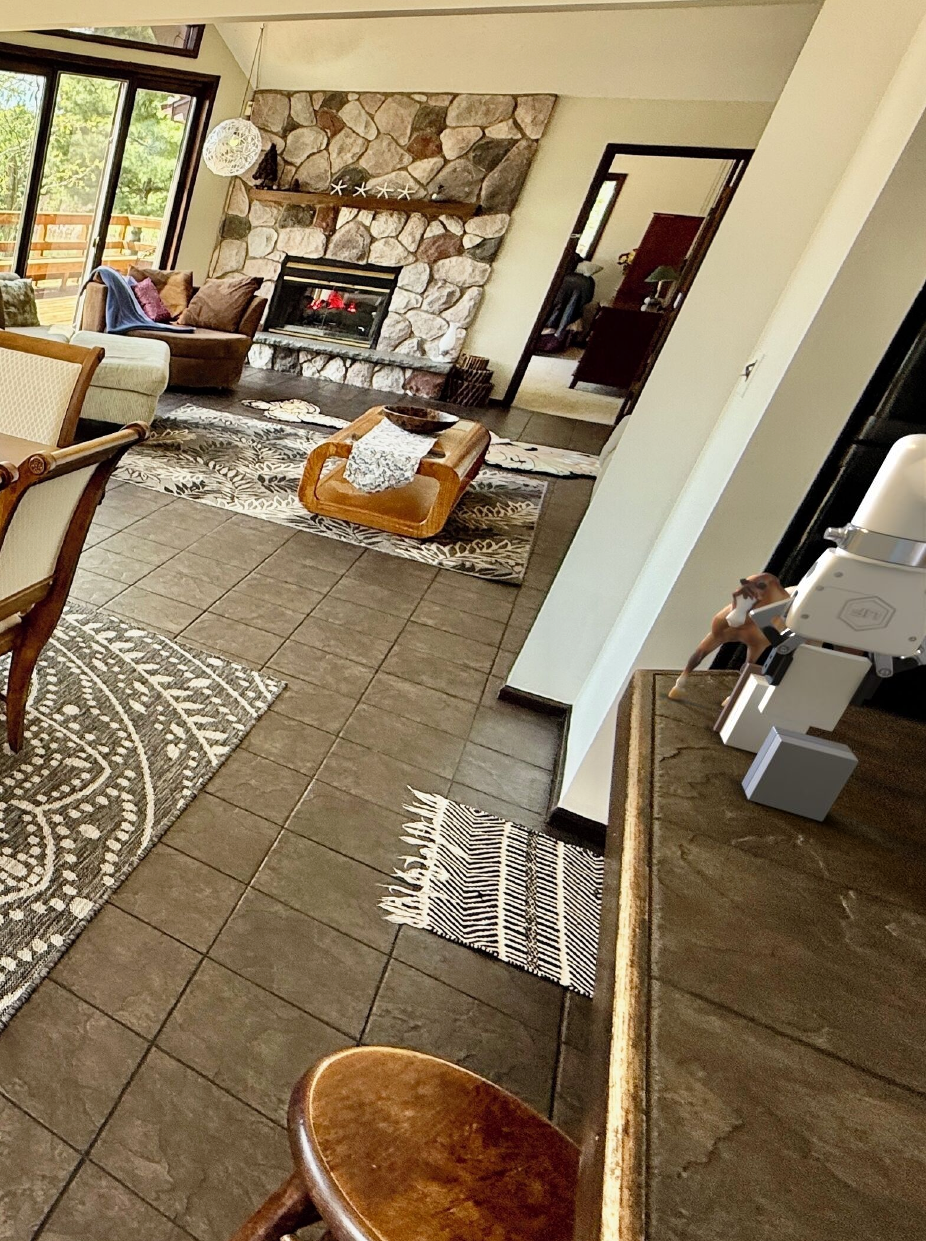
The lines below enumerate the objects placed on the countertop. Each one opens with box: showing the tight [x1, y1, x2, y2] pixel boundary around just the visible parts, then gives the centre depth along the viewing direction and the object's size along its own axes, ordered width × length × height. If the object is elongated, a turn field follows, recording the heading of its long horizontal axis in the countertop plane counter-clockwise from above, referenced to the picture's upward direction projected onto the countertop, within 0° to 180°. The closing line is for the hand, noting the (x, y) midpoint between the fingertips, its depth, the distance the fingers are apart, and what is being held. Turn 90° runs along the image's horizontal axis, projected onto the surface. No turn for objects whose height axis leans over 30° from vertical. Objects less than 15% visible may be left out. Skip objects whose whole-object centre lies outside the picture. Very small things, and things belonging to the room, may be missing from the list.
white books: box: [713, 663, 811, 754], centre depth 112 cm, size 7×5×10 cm
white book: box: [758, 643, 872, 732], centre depth 104 cm, size 6×2×9 cm, turn 52°
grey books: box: [741, 726, 860, 822], centre depth 101 cm, size 6×4×8 cm
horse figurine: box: [668, 572, 865, 708], centre depth 123 cm, size 31×8×21 cm, turn 100°
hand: (810, 690), depth 104 cm, fingers closed on white book, 6 cm apart
